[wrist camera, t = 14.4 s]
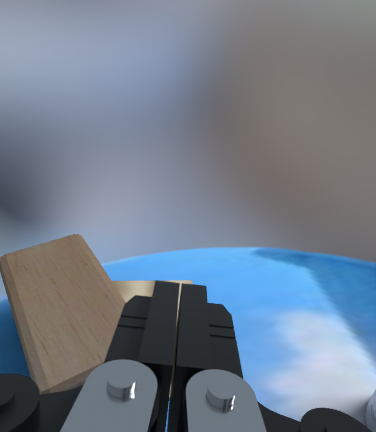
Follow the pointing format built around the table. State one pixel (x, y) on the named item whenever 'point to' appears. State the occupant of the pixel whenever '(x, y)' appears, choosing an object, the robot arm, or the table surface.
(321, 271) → the table surface
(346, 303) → the table surface
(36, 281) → the block
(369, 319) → the table surface
